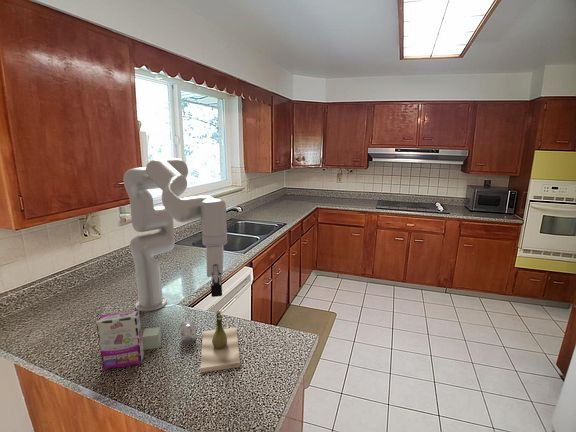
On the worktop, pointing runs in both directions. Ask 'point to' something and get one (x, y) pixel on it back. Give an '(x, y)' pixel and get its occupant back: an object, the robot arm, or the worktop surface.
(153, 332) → the sage cube
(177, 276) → the worktop surface
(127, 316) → the candy bar box
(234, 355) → the birch board
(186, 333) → the glass globe
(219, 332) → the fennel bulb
